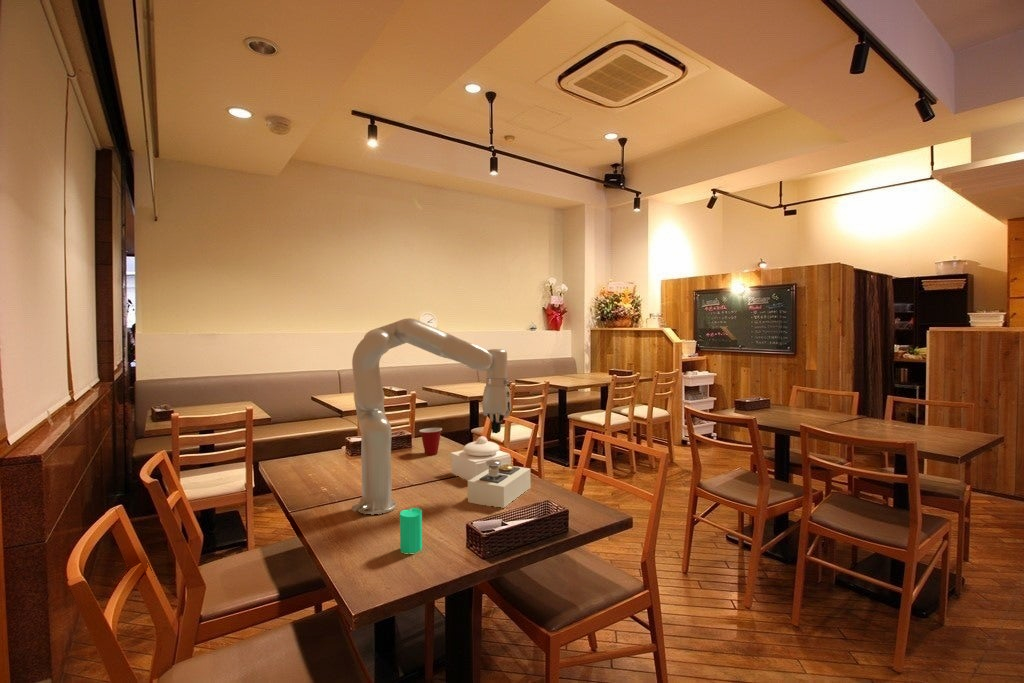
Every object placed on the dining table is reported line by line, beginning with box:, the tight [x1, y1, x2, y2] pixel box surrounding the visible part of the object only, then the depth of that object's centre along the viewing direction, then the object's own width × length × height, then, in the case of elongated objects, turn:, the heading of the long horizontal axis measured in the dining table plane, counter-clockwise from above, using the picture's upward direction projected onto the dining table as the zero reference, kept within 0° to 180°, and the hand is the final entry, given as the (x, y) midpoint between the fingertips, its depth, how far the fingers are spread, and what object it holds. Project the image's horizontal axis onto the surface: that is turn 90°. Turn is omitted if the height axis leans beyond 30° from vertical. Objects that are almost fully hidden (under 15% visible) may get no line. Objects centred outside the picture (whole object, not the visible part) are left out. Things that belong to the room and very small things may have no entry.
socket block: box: [467, 464, 532, 509], centre depth 173 cm, size 22×14×8 cm, turn 154°
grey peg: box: [486, 460, 501, 480], centre depth 168 cm, size 5×5×8 cm
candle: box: [399, 507, 423, 554], centre depth 132 cm, size 6×6×12 cm
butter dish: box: [450, 435, 512, 481], centre depth 197 cm, size 18×18×16 cm
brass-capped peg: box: [500, 464, 514, 472], centre depth 177 cm, size 5×5×8 cm
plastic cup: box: [419, 427, 443, 456], centre depth 228 cm, size 11×11×12 cm
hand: (496, 432), depth 177 cm, fingers closed
